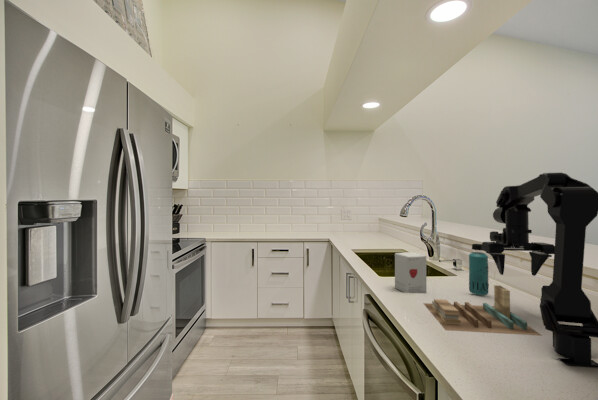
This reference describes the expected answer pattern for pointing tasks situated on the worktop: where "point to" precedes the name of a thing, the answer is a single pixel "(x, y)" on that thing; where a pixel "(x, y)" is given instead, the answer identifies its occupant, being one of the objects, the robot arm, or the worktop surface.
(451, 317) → the offcut stack
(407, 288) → the supplement box
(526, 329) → the rack
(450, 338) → the worktop surface
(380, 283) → the worktop surface
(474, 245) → the beverage bottle
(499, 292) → the tan rectangular block
